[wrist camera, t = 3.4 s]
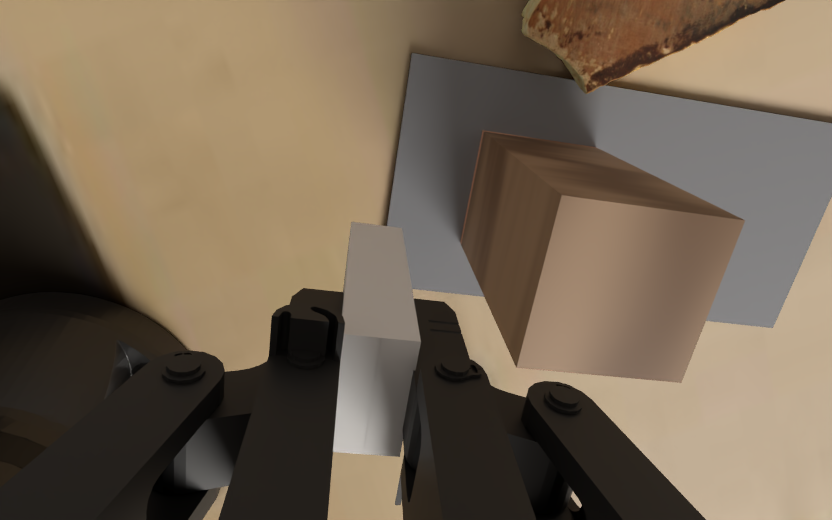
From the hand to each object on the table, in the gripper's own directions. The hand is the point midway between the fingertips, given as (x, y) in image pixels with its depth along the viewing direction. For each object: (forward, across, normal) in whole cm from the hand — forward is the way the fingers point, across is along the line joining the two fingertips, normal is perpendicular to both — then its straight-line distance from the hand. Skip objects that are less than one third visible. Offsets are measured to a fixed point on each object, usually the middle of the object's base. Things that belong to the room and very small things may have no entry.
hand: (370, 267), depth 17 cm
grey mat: (+13, +13, 0) cm, 18 cm away
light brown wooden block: (+12, +8, 0) cm, 15 cm away
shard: (+13, +11, +11) cm, 20 cm away
